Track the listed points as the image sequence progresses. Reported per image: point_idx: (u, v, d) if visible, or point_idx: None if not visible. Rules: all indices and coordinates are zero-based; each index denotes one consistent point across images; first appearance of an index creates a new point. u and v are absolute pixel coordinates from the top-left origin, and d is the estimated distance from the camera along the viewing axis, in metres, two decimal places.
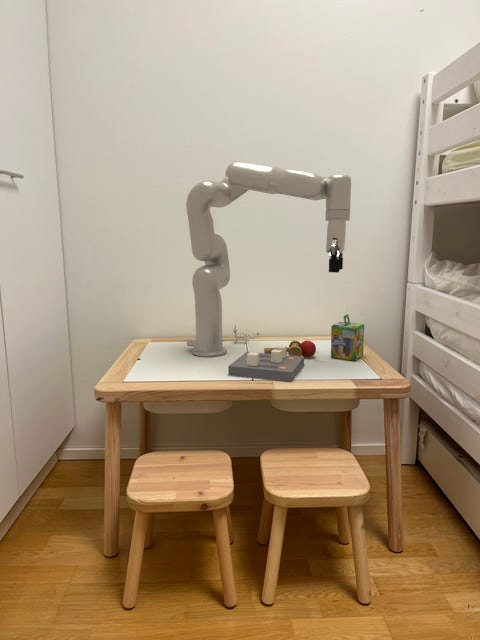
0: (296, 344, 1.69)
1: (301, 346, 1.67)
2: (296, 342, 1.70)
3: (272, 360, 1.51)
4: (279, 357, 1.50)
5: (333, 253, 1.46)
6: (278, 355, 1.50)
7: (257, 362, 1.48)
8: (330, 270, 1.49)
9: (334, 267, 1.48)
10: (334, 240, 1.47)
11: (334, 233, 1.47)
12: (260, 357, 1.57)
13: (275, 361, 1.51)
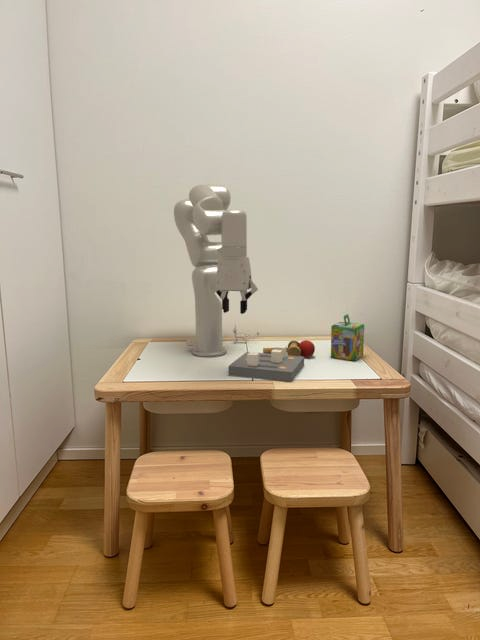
0: (295, 344, 1.70)
1: (300, 346, 1.67)
2: (295, 342, 1.70)
3: (272, 360, 1.51)
4: (279, 357, 1.50)
5: (251, 294, 1.45)
6: (278, 355, 1.50)
7: (257, 362, 1.48)
8: (243, 311, 1.46)
9: (246, 307, 1.46)
10: (251, 280, 1.44)
11: (249, 270, 1.43)
12: (260, 357, 1.57)
13: (275, 361, 1.51)
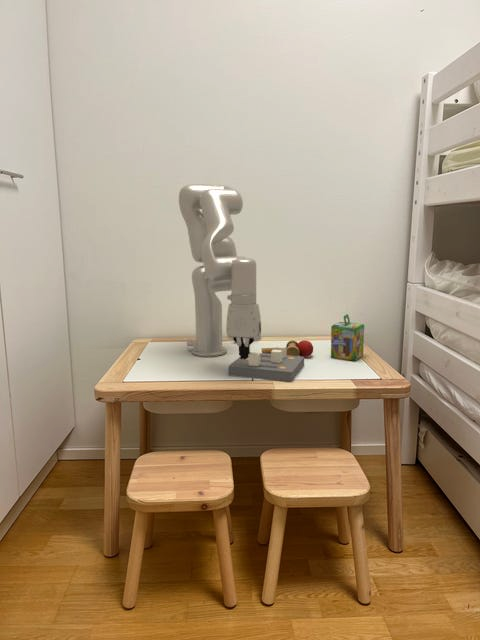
0: (293, 344, 1.70)
1: (298, 346, 1.67)
2: (293, 342, 1.70)
3: (272, 360, 1.51)
4: (279, 357, 1.50)
5: None
6: (278, 355, 1.50)
7: (258, 362, 1.48)
8: (245, 357, 1.48)
9: (248, 353, 1.49)
10: (258, 329, 1.46)
11: (259, 317, 1.45)
12: (260, 357, 1.57)
13: (275, 361, 1.51)
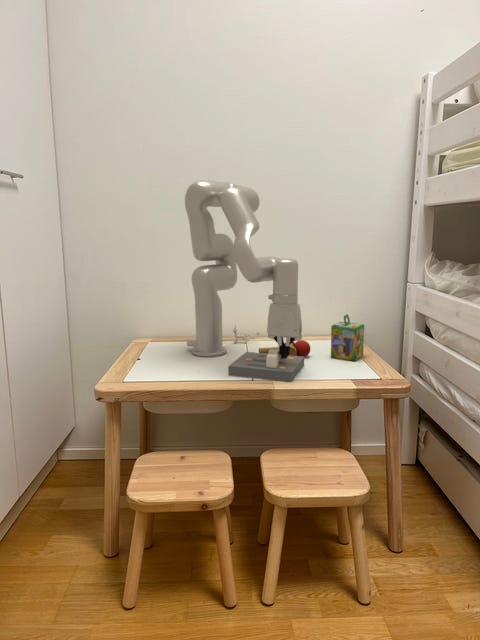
0: (290, 344, 1.70)
1: (295, 346, 1.67)
2: None
3: None
4: None
5: None
6: None
7: (276, 364, 1.46)
8: (286, 356, 1.50)
9: (289, 352, 1.50)
10: None
11: (300, 317, 1.47)
12: (260, 357, 1.57)
13: None
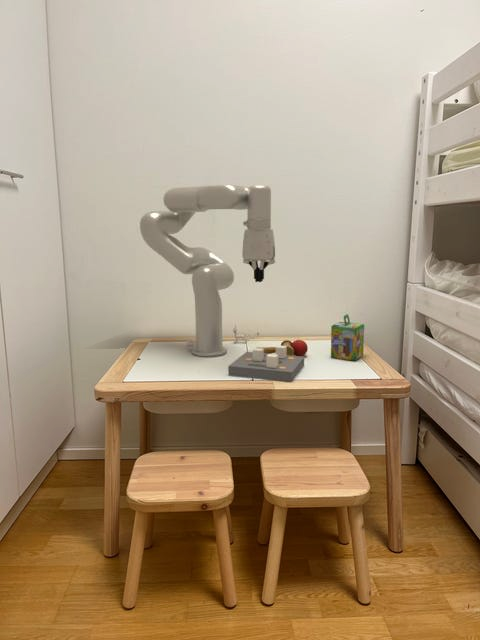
0: (288, 343, 1.70)
1: (293, 345, 1.68)
2: (288, 341, 1.71)
3: (253, 358, 1.53)
4: (260, 355, 1.52)
5: (267, 264, 1.57)
6: (259, 353, 1.52)
7: (276, 364, 1.46)
8: (260, 280, 1.58)
9: (263, 276, 1.59)
10: None
11: (273, 241, 1.55)
12: None
13: (256, 359, 1.53)
